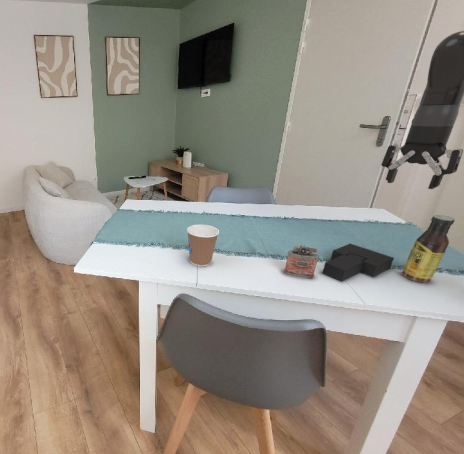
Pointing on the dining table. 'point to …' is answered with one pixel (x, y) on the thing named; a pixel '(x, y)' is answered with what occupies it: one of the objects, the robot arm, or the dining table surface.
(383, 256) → the notch pad
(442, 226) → the sauce bottle
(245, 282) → the dining table surface
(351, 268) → the pad
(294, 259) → the lighter
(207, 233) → the coffee cup
